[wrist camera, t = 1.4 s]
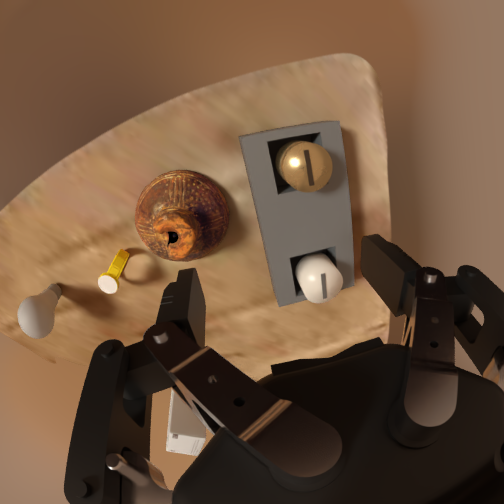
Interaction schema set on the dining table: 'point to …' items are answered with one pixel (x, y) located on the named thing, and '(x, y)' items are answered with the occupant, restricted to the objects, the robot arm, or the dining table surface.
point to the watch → (113, 273)
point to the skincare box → (184, 429)
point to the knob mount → (300, 207)
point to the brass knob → (304, 165)
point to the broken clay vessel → (181, 215)
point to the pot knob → (318, 277)
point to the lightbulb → (39, 312)
